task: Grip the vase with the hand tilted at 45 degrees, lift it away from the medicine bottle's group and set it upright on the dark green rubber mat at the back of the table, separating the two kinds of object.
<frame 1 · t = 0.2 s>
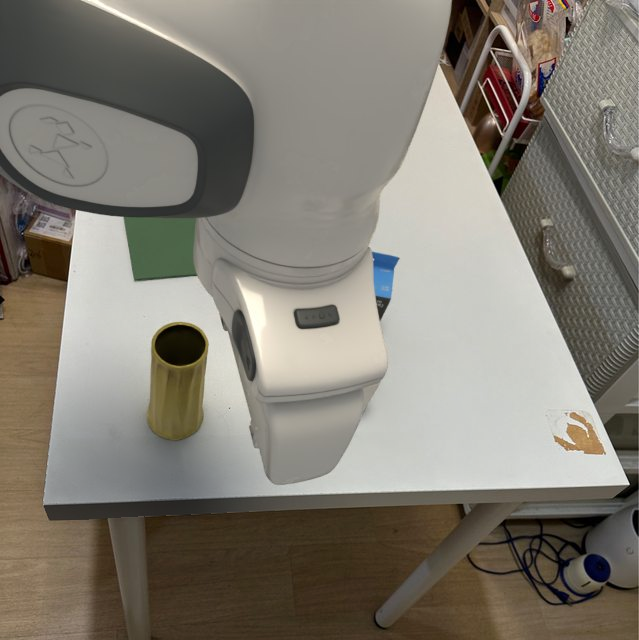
hand: (247, 376, 42), 25 cm above the table, tool pointing down, fingers open, 8 cm apart
supplement tub: (353, 74, 117), on the table
label tape box: (339, 323, 80), on the table
green mat: (188, 236, 83), on the table
vase: (175, 416, 67), on the table
medicine bottle: (326, 394, 73), on the table
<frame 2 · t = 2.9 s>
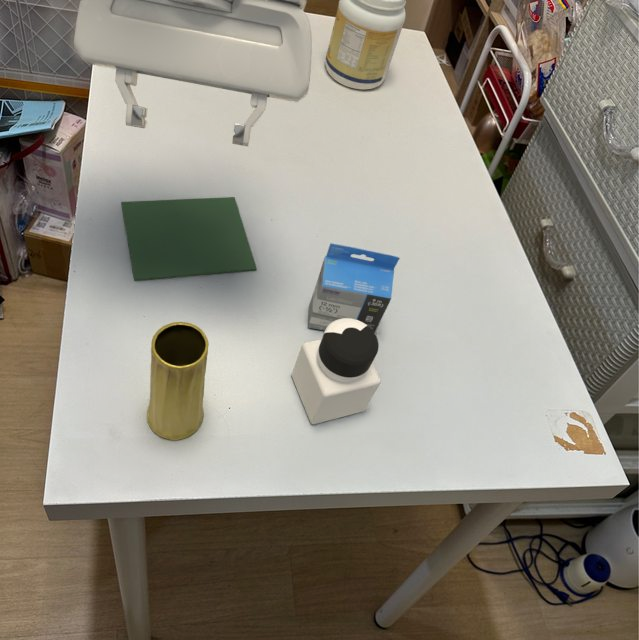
hand: (188, 136, 55), 26 cm above the table, tool tilted 40°, fingers open, 8 cm apart
nothing on the table moved.
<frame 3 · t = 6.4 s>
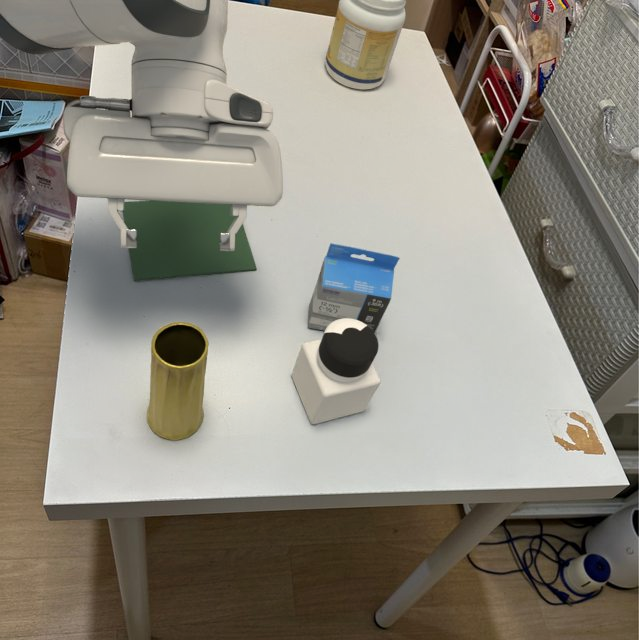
hand: (178, 249, 60), 16 cm above the table, tool tilted 45°, fingers open, 8 cm apart
nothing on the table moved.
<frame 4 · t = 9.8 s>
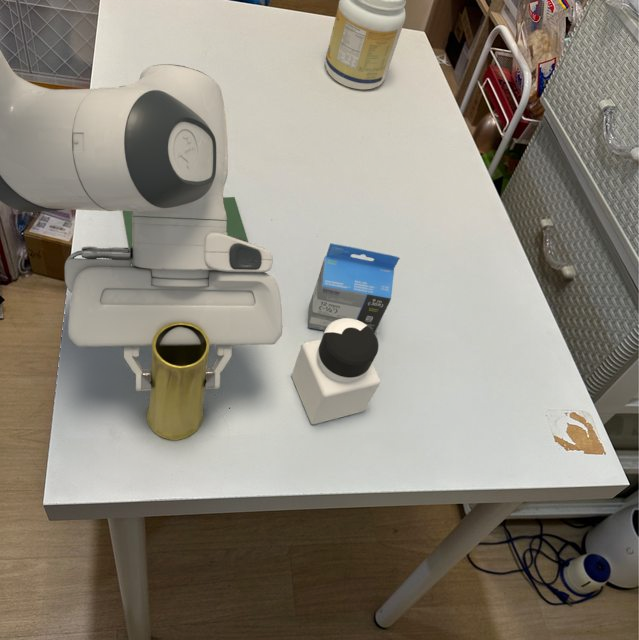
hand: (178, 388, 60), 8 cm above the table, tool tilted 45°, fingers closed on vase, 5 cm apart
vase: (175, 416, 67), on the table, touching gripper
everything else where it was.
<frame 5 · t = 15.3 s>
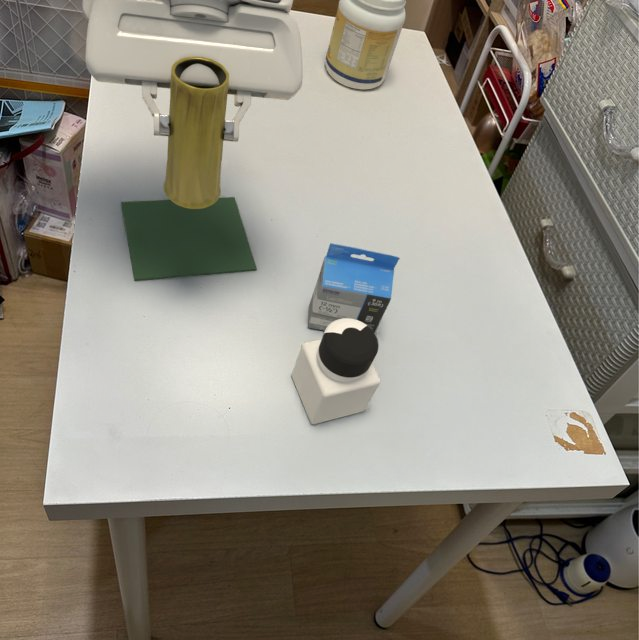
hand: (197, 138, 59), 24 cm above the table, tool tilted 45°, fingers closed on vase, 5 cm apart
vase: (192, 191, 66), point 16 cm above the table, touching gripper
everything else where it was.
when the fingers open (8 cm above the table, at t = 21.0 s): vase stays where it is, resting on green mat.
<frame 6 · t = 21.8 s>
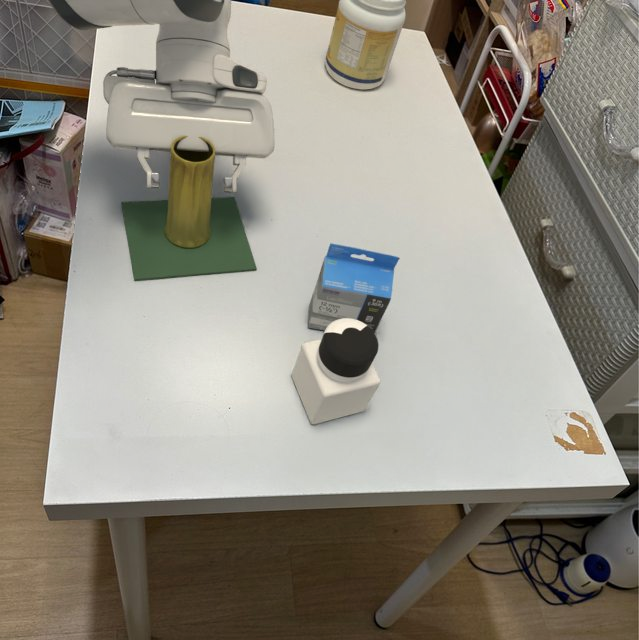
hand: (192, 190, 76), 9 cm above the table, tool tilted 45°, fingers open, 8 cm apart
vase: (187, 233, 83), resting on green mat
everything else where it was.
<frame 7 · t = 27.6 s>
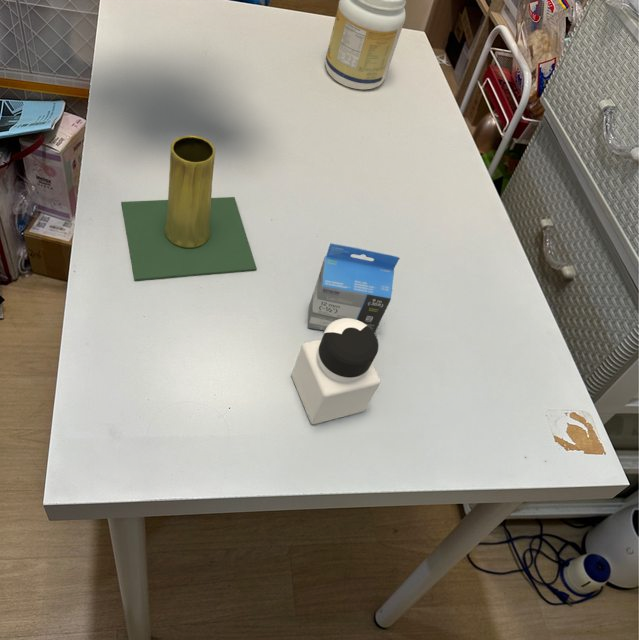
nothing on the table moved.
at the end: vase inside the target area on the green mat (0.4 cm from its centre), point 0.2 cm above the green mat's base; vase tilted 0°; the gripper is holding nothing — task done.
